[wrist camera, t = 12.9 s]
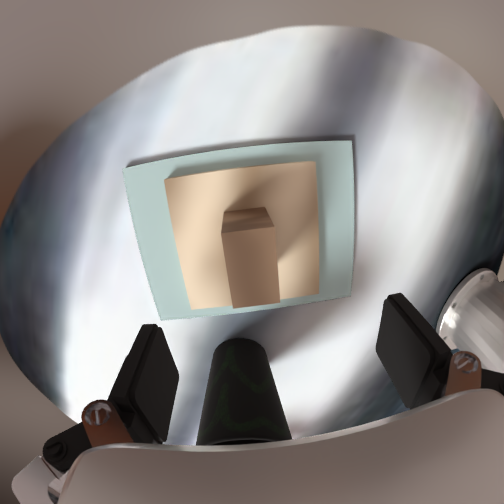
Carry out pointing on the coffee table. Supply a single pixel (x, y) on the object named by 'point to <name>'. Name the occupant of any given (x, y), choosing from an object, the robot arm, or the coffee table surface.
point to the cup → (241, 398)
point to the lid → (246, 233)
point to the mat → (153, 173)
